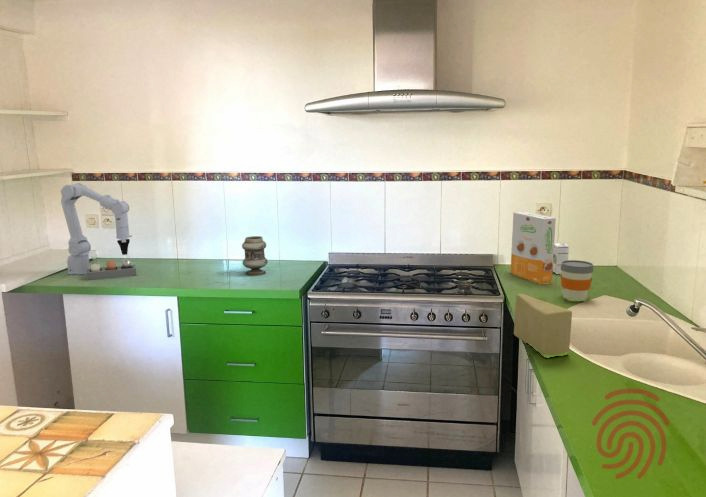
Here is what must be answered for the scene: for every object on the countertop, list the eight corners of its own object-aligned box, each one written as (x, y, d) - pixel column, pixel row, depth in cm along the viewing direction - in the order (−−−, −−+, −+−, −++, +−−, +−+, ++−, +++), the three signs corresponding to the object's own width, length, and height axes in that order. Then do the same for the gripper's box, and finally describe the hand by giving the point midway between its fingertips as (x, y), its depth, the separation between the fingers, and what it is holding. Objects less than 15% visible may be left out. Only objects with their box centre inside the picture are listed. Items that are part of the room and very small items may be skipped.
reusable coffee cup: (571, 304, 231) (573, 267, 228) (552, 296, 243) (554, 261, 240) (597, 301, 234) (600, 265, 231) (578, 293, 246) (580, 259, 243)
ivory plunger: (89, 273, 277) (88, 265, 276) (94, 271, 280) (93, 263, 280) (97, 273, 276) (96, 265, 275) (102, 271, 280) (101, 263, 279)
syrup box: (567, 275, 277) (569, 245, 274) (555, 275, 277) (557, 245, 274) (563, 272, 283) (565, 243, 280) (551, 272, 283) (553, 243, 280)
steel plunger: (121, 269, 282) (120, 261, 281) (124, 267, 286) (124, 259, 285) (129, 269, 282) (128, 261, 281) (132, 267, 285) (132, 259, 285)
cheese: (502, 336, 196) (504, 293, 193) (527, 332, 199) (529, 290, 196) (543, 360, 176) (546, 312, 173) (570, 355, 179) (573, 309, 176)
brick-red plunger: (105, 270, 279) (104, 262, 278) (109, 268, 283) (108, 260, 282) (113, 270, 279) (112, 262, 278) (117, 268, 283) (116, 260, 282)
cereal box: (551, 283, 262) (555, 218, 256) (540, 284, 260) (544, 219, 254) (521, 272, 283) (524, 211, 277) (510, 273, 281) (513, 212, 275)
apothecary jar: (240, 272, 287) (238, 236, 284) (263, 269, 292) (262, 234, 289) (246, 277, 277) (245, 240, 273) (271, 274, 282) (269, 238, 278)
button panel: (136, 275, 282) (135, 268, 281) (87, 280, 273) (86, 273, 273) (135, 271, 290) (135, 264, 289) (87, 275, 281) (86, 269, 281)
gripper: (131, 228, 274) (134, 256, 277) (130, 224, 287) (132, 251, 290) (115, 229, 272) (118, 257, 274) (115, 225, 285) (117, 252, 287)
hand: (124, 254), depth 282 cm, fingers closed
